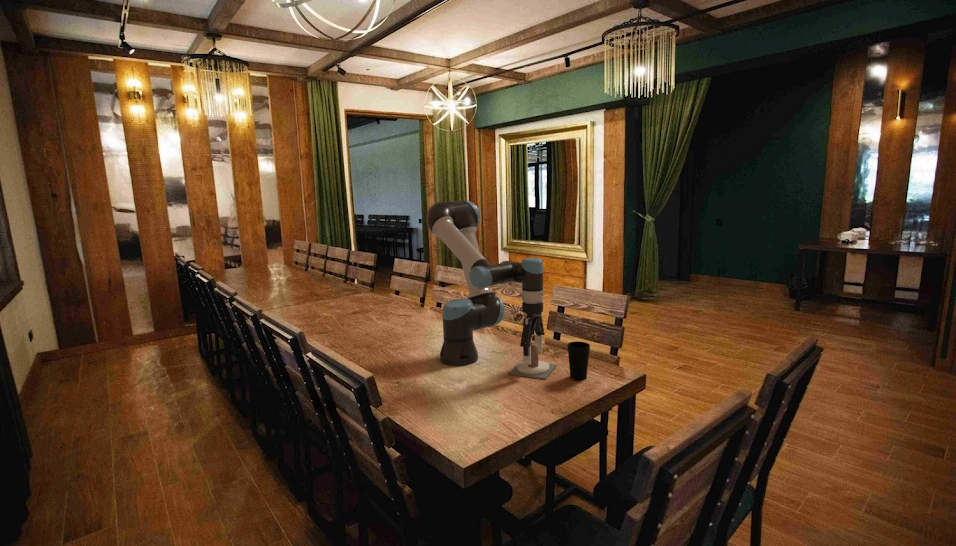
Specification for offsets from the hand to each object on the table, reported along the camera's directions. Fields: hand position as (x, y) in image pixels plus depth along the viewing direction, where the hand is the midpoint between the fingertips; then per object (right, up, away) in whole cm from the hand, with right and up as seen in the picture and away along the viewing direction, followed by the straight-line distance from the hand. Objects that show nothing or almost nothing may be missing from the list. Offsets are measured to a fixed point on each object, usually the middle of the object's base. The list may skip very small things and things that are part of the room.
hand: (532, 357), depth 176 cm
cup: (+15, -6, -7) cm, 18 cm away
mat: (0, -5, +1) cm, 5 cm away
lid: (0, -4, +1) cm, 4 cm away
